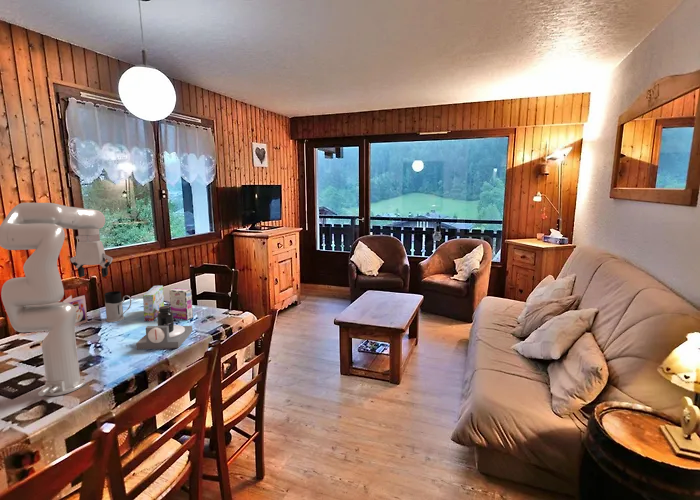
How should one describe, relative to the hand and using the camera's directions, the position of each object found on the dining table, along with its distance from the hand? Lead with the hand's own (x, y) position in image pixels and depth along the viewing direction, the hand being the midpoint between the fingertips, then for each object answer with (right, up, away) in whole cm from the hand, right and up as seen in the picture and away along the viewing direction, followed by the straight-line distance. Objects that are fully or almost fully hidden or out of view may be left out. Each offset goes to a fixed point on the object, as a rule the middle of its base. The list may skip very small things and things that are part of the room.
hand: (93, 276), depth 164 cm
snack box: (+3, -26, +45) cm, 52 cm away
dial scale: (+27, -31, +11) cm, 43 cm away
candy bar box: (+21, -27, +41) cm, 53 cm away
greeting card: (-31, -28, +29) cm, 51 cm away
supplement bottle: (+27, -27, +11) cm, 40 cm away
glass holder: (-12, -27, +38) cm, 48 cm away
